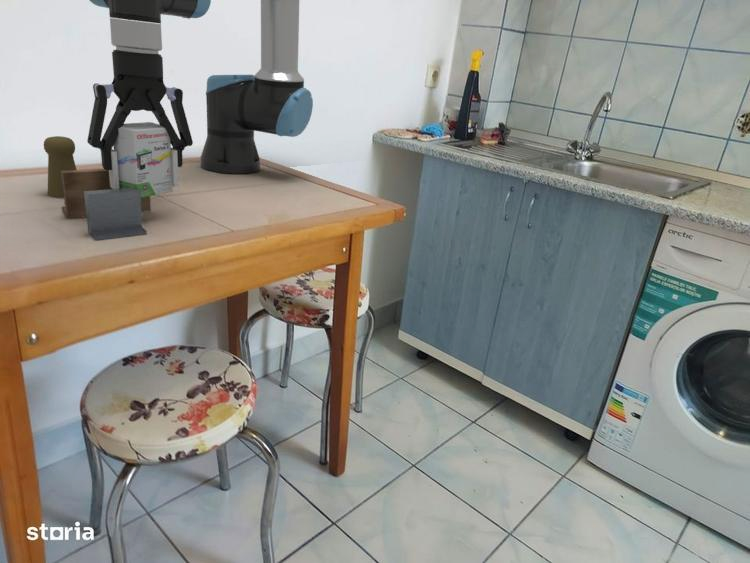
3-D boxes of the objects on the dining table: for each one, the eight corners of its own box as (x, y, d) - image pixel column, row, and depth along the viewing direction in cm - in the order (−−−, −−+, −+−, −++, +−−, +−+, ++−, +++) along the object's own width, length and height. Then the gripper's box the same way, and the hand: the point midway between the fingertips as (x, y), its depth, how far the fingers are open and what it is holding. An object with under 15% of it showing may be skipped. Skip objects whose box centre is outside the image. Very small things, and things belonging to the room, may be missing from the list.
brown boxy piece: (142, 204, 105) (140, 163, 102) (150, 210, 102) (148, 168, 99) (62, 211, 97) (56, 166, 93) (68, 218, 94) (62, 172, 90)
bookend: (138, 227, 93) (135, 187, 91) (146, 234, 91) (144, 193, 88) (88, 232, 89) (83, 191, 86) (95, 240, 86) (90, 197, 83)
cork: (74, 188, 110) (68, 133, 106) (88, 195, 107) (82, 139, 102) (42, 192, 106) (34, 134, 101) (55, 199, 102) (48, 140, 98)
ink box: (137, 200, 92) (132, 129, 87) (115, 194, 93) (110, 124, 89) (174, 191, 99) (171, 125, 94) (153, 186, 101) (150, 121, 96)
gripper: (194, 54, 96) (196, 178, 105) (54, 41, 83) (70, 185, 91) (212, 58, 91) (213, 187, 100) (66, 45, 78) (82, 196, 86)
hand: (145, 186), depth 96 cm, fingers closed on ink box, 9 cm apart
